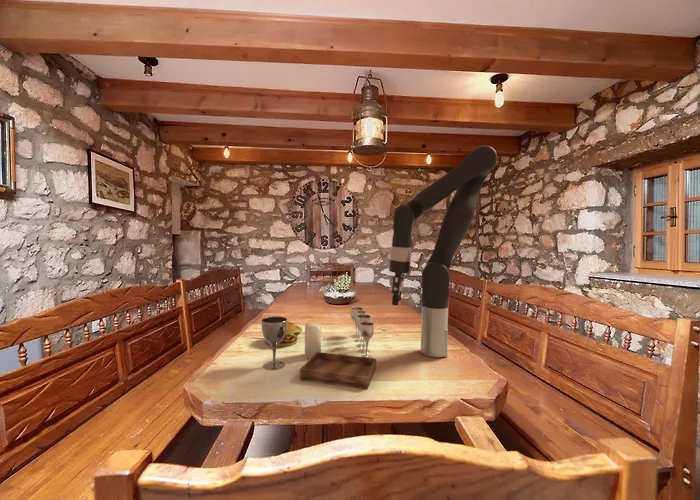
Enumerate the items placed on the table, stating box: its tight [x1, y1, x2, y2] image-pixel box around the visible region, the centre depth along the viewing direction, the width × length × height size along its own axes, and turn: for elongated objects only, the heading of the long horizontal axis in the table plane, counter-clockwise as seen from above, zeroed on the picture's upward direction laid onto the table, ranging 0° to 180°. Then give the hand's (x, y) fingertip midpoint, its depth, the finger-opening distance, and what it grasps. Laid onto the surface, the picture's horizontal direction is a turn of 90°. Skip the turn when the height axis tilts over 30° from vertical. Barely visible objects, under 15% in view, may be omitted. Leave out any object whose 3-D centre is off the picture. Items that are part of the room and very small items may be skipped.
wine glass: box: [261, 315, 288, 371], centre depth 99 cm, size 8×8×15 cm
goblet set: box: [349, 306, 375, 358], centre depth 119 cm, size 28×6×13 cm, turn 8°
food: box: [267, 320, 303, 348], centre depth 121 cm, size 14×14×8 cm
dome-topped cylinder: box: [304, 322, 322, 360], centre depth 108 cm, size 6×6×11 cm
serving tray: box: [299, 351, 377, 390], centre depth 94 cm, size 20×14×3 cm
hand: (396, 302), depth 115 cm, fingers open, 8 cm apart
